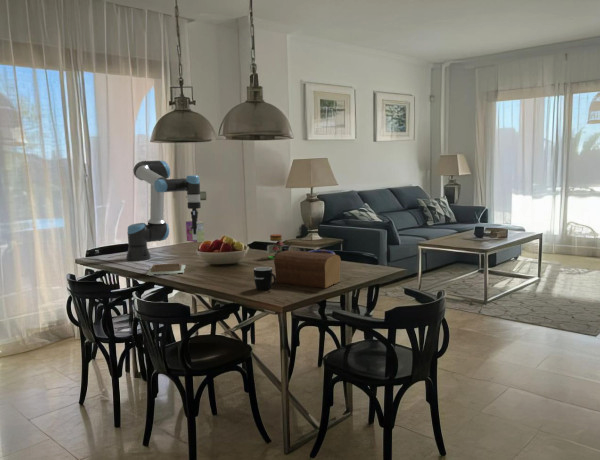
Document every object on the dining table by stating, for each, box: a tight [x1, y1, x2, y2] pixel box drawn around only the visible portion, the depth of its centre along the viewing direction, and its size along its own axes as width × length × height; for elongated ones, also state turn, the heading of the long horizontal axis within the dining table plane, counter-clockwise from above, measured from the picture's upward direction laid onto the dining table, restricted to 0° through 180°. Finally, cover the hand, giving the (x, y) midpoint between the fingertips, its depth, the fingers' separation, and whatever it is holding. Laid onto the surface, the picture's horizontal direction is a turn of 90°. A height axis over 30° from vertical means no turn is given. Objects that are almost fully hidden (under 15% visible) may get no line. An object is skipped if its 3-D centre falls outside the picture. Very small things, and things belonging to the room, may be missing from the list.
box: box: [185, 220, 206, 243], centre depth 308 cm, size 10×6×12 cm, turn 47°
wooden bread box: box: [273, 249, 342, 289], centre depth 266 cm, size 18×30×16 cm, turn 59°
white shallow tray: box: [146, 262, 186, 276], centre depth 303 cm, size 22×20×3 cm
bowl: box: [307, 249, 337, 255], centre depth 301 cm, size 18×18×10 cm
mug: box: [253, 266, 277, 291], centre depth 254 cm, size 12×9×10 cm
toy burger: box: [266, 233, 284, 260], centre depth 339 cm, size 12×13×15 cm
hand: (195, 238), depth 309 cm, fingers closed on box, 11 cm apart
